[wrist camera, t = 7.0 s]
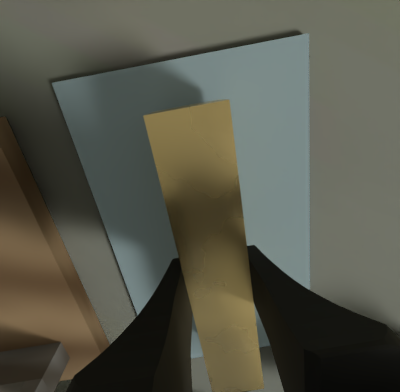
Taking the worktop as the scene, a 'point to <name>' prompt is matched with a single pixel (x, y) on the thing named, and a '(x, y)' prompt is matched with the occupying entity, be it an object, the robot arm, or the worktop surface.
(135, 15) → the worktop surface
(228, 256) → the brass rail
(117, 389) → the robot arm
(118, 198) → the rubber mat
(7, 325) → the hook stand
